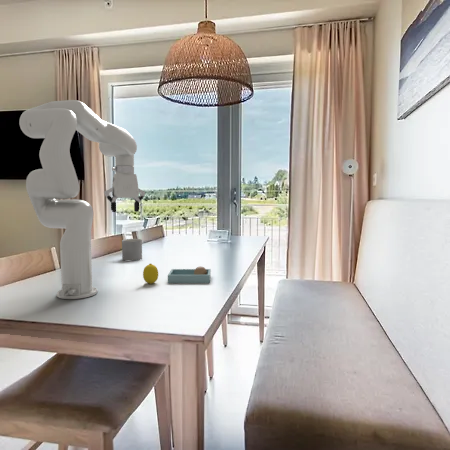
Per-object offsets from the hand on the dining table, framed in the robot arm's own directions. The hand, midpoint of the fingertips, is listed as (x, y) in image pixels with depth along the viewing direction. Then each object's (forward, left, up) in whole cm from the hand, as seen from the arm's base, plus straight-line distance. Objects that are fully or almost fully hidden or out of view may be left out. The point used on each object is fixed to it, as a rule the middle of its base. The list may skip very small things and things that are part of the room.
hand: (125, 211), depth 154 cm
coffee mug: (+35, +6, -26) cm, 44 cm away
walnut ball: (-15, -32, -26) cm, 44 cm away
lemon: (-21, -14, -26) cm, 36 cm away
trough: (-15, -28, -26) cm, 41 cm away
